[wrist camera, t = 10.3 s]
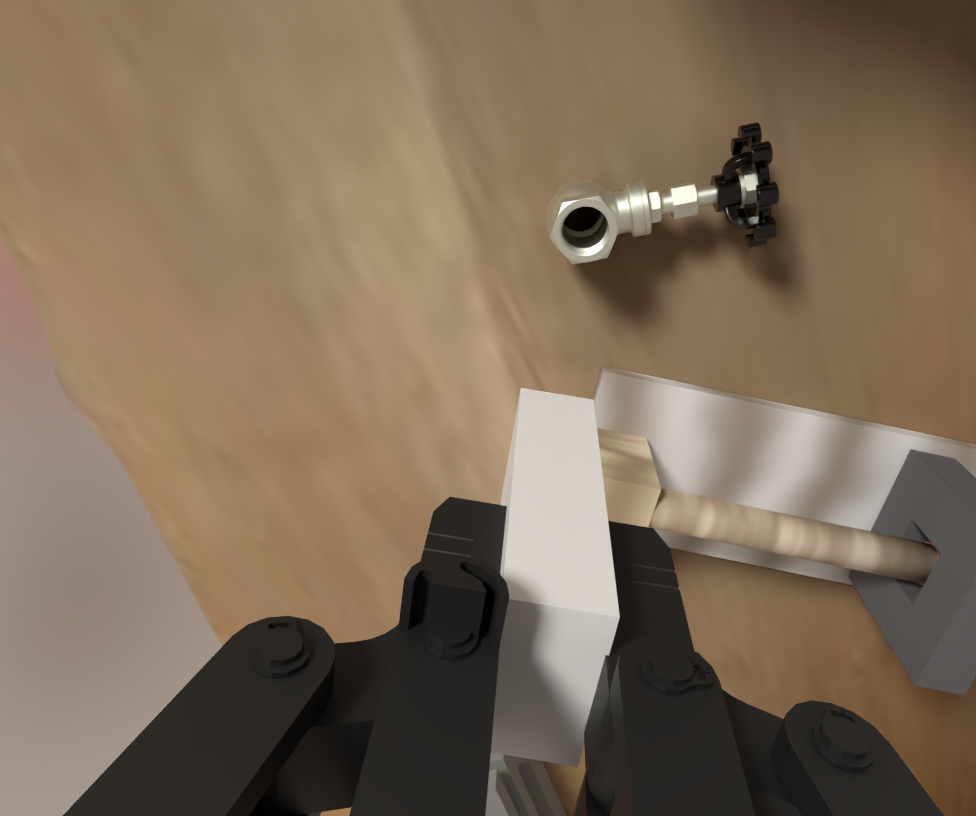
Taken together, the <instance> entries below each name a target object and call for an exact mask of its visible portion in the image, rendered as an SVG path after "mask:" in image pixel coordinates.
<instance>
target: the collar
mask: <svg viewBox="0 0 976 816" xmlns="http://www.w3.org/2000/svg"><path fill="white" fill-rule="evenodd" d="M871 532H876V533H881V534H886V535H890V536H895V537H900V538H905V539H910V540H914V541H919V542H932V544H933V545H934V546H935V547H936V549H937V550H938V551H939V552H940V553H941V554H940V556H939V558H938V560H937V562H936V563H935V565H934V567H933V569H932V571H931V573H930V574H929V576H928V578H927V580H926V582H925V584H924V586H923V585H920V584H918V583H917V582H912V581H907V580H902V579H897V578H893V577H888V576H883V575H878V574H873V573H868V572H863V571H859V570H854V569H852V570H851V572H850V574H849V576H848V577H849V579H850V580H851V582H852V584H853V585H854V587H855V589H856V590H857V592H858V594H859V595H860V597H861V598H862V600H863V602H864V603H865V605H866V607H867V608H868V610H869V612H870V613H871V615H872V617H873V618H874V620H875V622H876V623H877V625H878V627H879V628H880V630H881V631H882V633H883V635H884V636H885V638H886V640H887V641H888V643H889V645H890V646H891V648H892V650H893V651H894V653H895V655H896V656H897V658H898V659H899V661H900V663H901V664H902V666H903V668H904V669H905V671H906V673H907V674H908V676H909V678H910V679H911V681H912V683H913V684H914V686H919V687H924V688H928V689H933V690H938V691H943V692H948V693H953V694H958V695H963V696H964V695H965V694H966V692H967V690H968V689H969V687H970V685H971V684H972V682H973V681H974V679H975V677H976V478H975V477H974V476H973V475H972V474H971V473H970V472H969V471H968V470H967V469H966V468H965V467H964V466H963V465H962V464H960V463H959V462H958V461H957V460H956V459H955V458H950V457H946V456H941V455H936V454H931V453H927V452H922V451H917V450H912V449H910V451H909V453H908V455H907V458H906V460H905V462H904V464H903V466H902V468H901V470H900V472H899V474H898V476H897V478H896V480H895V482H894V484H893V486H892V488H891V490H890V492H889V494H888V496H887V498H886V501H885V503H884V505H883V507H882V509H881V511H880V513H879V515H878V517H877V519H876V521H875V523H874V525H873V527H872V529H871Z"/></svg>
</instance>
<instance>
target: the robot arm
mask: <svg viewBox="0 0 976 816" xmlns="http://www.w3.org/2000/svg"><path fill="white" fill-rule="evenodd" d="M674 570H675V568H674V564H673V560H672V556H671V551H670V548H669V547H668V545H667V544H666V543H665V542H664V541H663V539H662V538H661V537H660V536H659V534H658V533H657V532H656V531H655V530H654V528H649V527H643V526H637V525H631V524H625V523H618V522H612V521H608V516H607V507H606V499H605V491H604V482H603V474H602V466H601V457H600V449H599V441H598V433H597V424H596V416H595V408H594V400H592V399H586V398H579V397H573V396H567V395H561V394H555V393H549V392H543V391H536V390H530V389H524V388H521V391H520V396H519V402H518V408H517V413H516V419H515V424H514V430H513V436H512V441H511V447H510V452H509V458H508V464H507V469H506V475H505V481H504V486H503V492H502V497H501V505H496V504H490V503H484V502H478V501H472V500H466V499H460V498H454V497H449V498H448V499H447V500H446V501H445V502H444V503H442V504H441V505H440V506H439V507H438V508H437V509H436V510H435V511H434V512H433V515H432V519H431V523H430V527H429V531H428V535H427V539H426V543H425V546H424V550H423V554H422V558H421V561H420V562H419V563H417V564H415V565H414V566H412V567H411V569H410V570H409V572H408V574H407V575H406V577H405V578H404V586H403V594H402V603H401V611H400V620H399V624H398V625H397V626H396V627H395V628H393V629H392V630H390V631H389V632H387V633H385V634H383V635H381V636H378V637H375V638H373V639H369V640H363V641H357V642H347V643H336V644H334V641H333V640H332V639H331V637H330V636H329V635H328V633H327V632H326V631H325V630H324V628H322V627H320V626H318V625H316V624H315V623H313V622H311V621H309V620H306V619H301V618H296V617H291V616H282V617H269V618H265V619H262V620H259V621H257V622H254V623H251V624H248V625H247V626H245V627H244V628H243V629H241V630H240V631H239V632H237V633H236V634H235V635H233V636H232V637H231V638H230V639H229V640H228V641H227V642H226V643H225V644H224V645H223V647H222V648H221V649H220V650H219V651H218V652H217V653H216V654H215V655H214V656H213V657H212V658H211V660H209V661H208V662H207V663H206V665H205V666H204V667H203V668H202V669H201V670H200V671H199V672H198V673H197V674H196V675H195V676H194V677H193V678H192V679H191V680H190V682H189V683H188V684H187V685H186V686H185V687H184V688H183V689H182V690H181V691H180V692H179V693H178V694H177V695H176V696H175V697H174V698H173V699H172V701H171V702H170V703H169V704H168V705H167V706H166V707H165V708H164V709H163V710H162V711H161V712H160V713H159V714H158V715H157V717H155V719H154V720H153V721H152V722H151V723H150V724H149V725H148V726H147V727H146V728H145V729H144V730H143V731H142V733H140V734H139V735H138V737H137V738H136V739H135V740H134V741H133V742H132V743H131V744H130V745H129V746H128V747H127V748H126V749H125V750H124V752H122V754H121V755H120V756H119V757H118V758H117V759H116V760H115V761H114V762H113V763H112V764H111V765H110V766H109V767H108V768H107V770H106V771H104V773H103V774H102V775H101V776H100V777H99V778H98V779H97V780H96V781H95V783H93V784H92V785H91V786H90V787H89V788H88V790H87V791H86V792H85V793H84V794H83V795H82V796H81V797H80V798H79V799H78V800H77V801H76V802H75V803H74V804H73V806H72V807H71V808H70V809H69V810H68V811H67V812H66V813H65V814H64V815H63V816H320V814H321V812H323V811H330V810H336V809H343V808H350V807H352V808H351V812H350V815H349V816H485V815H486V803H487V791H488V779H489V768H490V756H491V753H497V754H503V755H509V756H515V757H521V758H527V759H533V760H539V761H545V762H551V763H557V764H563V765H569V766H575V767H578V764H579V760H580V757H581V753H582V750H583V746H584V742H585V763H586V772H585V776H584V779H583V783H582V786H581V790H580V793H579V797H578V800H577V803H576V807H575V810H574V814H573V816H944V815H943V814H942V813H941V811H940V810H939V809H938V807H937V806H936V805H935V803H934V802H933V801H932V799H931V798H930V797H929V795H928V794H927V793H926V791H925V790H924V789H923V787H922V786H921V785H920V783H919V782H918V781H917V779H916V778H915V776H914V775H913V774H912V772H911V771H910V770H909V768H908V767H907V766H906V764H905V763H904V762H903V760H902V759H901V758H900V756H899V755H898V754H897V752H896V751H895V750H894V748H893V747H892V746H891V744H890V743H889V742H888V741H887V740H886V739H885V738H884V737H883V736H882V734H881V733H880V732H879V731H878V730H877V729H876V728H875V727H874V726H873V725H871V724H870V723H868V722H867V721H865V720H864V719H862V718H861V717H859V716H858V715H856V714H855V713H854V712H852V711H849V710H847V709H844V708H842V707H839V706H837V705H834V704H832V703H825V702H818V701H808V702H803V703H799V704H796V705H795V706H794V707H793V708H792V709H791V710H790V711H789V712H788V713H787V714H786V716H785V718H784V719H782V718H779V717H777V716H775V715H772V714H770V713H767V712H765V711H763V710H760V709H758V708H755V707H753V706H751V705H748V704H746V703H744V702H742V701H740V700H738V699H736V698H734V697H732V696H731V695H730V694H728V693H727V692H725V691H724V690H722V688H721V684H720V681H719V679H718V677H717V675H716V673H715V671H714V669H713V667H712V666H711V665H710V664H709V663H708V662H707V661H706V660H705V659H704V658H703V657H702V656H701V655H700V654H699V653H697V652H695V651H694V648H693V644H692V639H691V635H690V631H689V627H688V623H687V618H686V614H685V610H684V606H683V602H682V598H681V593H680V590H678V587H679V585H678V581H677V577H676V573H674Z"/></svg>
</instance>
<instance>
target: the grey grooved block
mask: <svg viewBox="0 0 976 816" xmlns="http://www.w3.org/2000/svg"><path fill="white" fill-rule="evenodd" d="M485 816H567V815H566V813H565V811H564V808H563V806H562V804H561V801H560V799H559V797H558V795H557V792H556V790H555V788H554V786H553V783H552V781H551V779H550V777H549V774H548V772H547V770H546V768H545V765H544V763H543V761H539V760H533V759H527V758H521V757H515V756H509V755H503V754H497V753H491V756H490V768H489V779H488V791H487V803H486V815H485Z"/></svg>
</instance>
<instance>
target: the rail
mask: <svg viewBox="0 0 976 816" xmlns="http://www.w3.org/2000/svg"><path fill="white" fill-rule="evenodd" d="M593 400H594V408H595V416H596V424H597V433H598V441H599V449H600V457H601V466H602V474H603V482H604V491H605V499H606V507H607V516H608V521H612V522H618V523H625V524H631V525H637V526H643V527H649V528H654V530H655V531H656V532H657V533H658V534H659V536H660V537H661V538H662V539H663V541H664V542H665V543H666V544H667V545H668V547H669V548H674V549H679V550H684V551H689V552H694V553H699V554H703V555H708V556H713V557H718V558H723V559H728V560H733V561H738V562H742V563H747V564H752V565H757V566H762V567H767V568H772V569H776V570H781V571H786V572H791V573H796V574H801V575H806V576H810V577H815V578H820V579H825V580H830V581H835V582H840V583H845V584H849V585H853V584H852V582H851V580H850V579H849V577H848V576H849V574H850V572H851V570H852V569H854V570H859V571H863V572H868V573H873V574H878V575H883V576H888V577H893V578H897V579H902V580H907V581H912V582H917V583H918V584H920V585H923V586H924V584H925V582H926V580H927V578H928V576H929V574H930V573H931V571H932V569H933V567H934V565H935V563H936V562H937V560H938V558H939V556H940V554H941V553H940V552H939V551H938V550H937V549H936V547H935V546H934V545H933V544H932V542H919V541H914V540H910V539H905V538H900V537H895V536H890V535H886V534H881V533H876V532H871V529H872V527H873V525H874V523H875V521H876V519H877V517H878V515H879V513H880V511H881V509H882V507H883V505H884V503H885V501H886V498H887V496H888V494H889V492H890V490H891V488H892V486H893V484H894V482H895V480H896V478H897V476H898V474H899V472H900V470H901V468H902V466H903V464H904V462H905V460H906V458H907V455H908V453H909V451H910V449H912V450H917V451H922V452H927V453H931V454H936V455H941V456H946V457H950V458H955V459H956V460H957V461H958V462H959V463H960V464H962V465H963V466H964V467H965V468H966V469H967V470H968V471H969V472H970V473H971V474H972V475H973V476H974V477H975V478H976V444H972V443H968V442H963V441H958V440H953V439H949V438H944V437H939V436H934V435H930V434H925V433H920V432H915V431H911V430H906V429H901V428H896V427H892V426H887V425H882V424H877V423H872V422H868V421H863V420H858V419H853V418H849V417H844V416H839V415H834V414H830V413H825V412H820V411H815V410H811V409H806V408H801V407H796V406H792V405H787V404H782V403H777V402H773V401H768V400H763V399H758V398H753V397H749V396H744V395H739V394H734V393H730V392H725V391H720V390H715V389H711V388H706V387H701V386H696V385H692V384H687V383H682V382H677V381H673V380H668V379H663V378H658V377H654V376H649V375H644V374H639V373H634V372H630V371H625V370H620V369H615V368H611V367H606V366H602V369H601V373H600V376H599V380H598V383H597V387H596V391H595V394H594V398H593Z"/></svg>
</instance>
